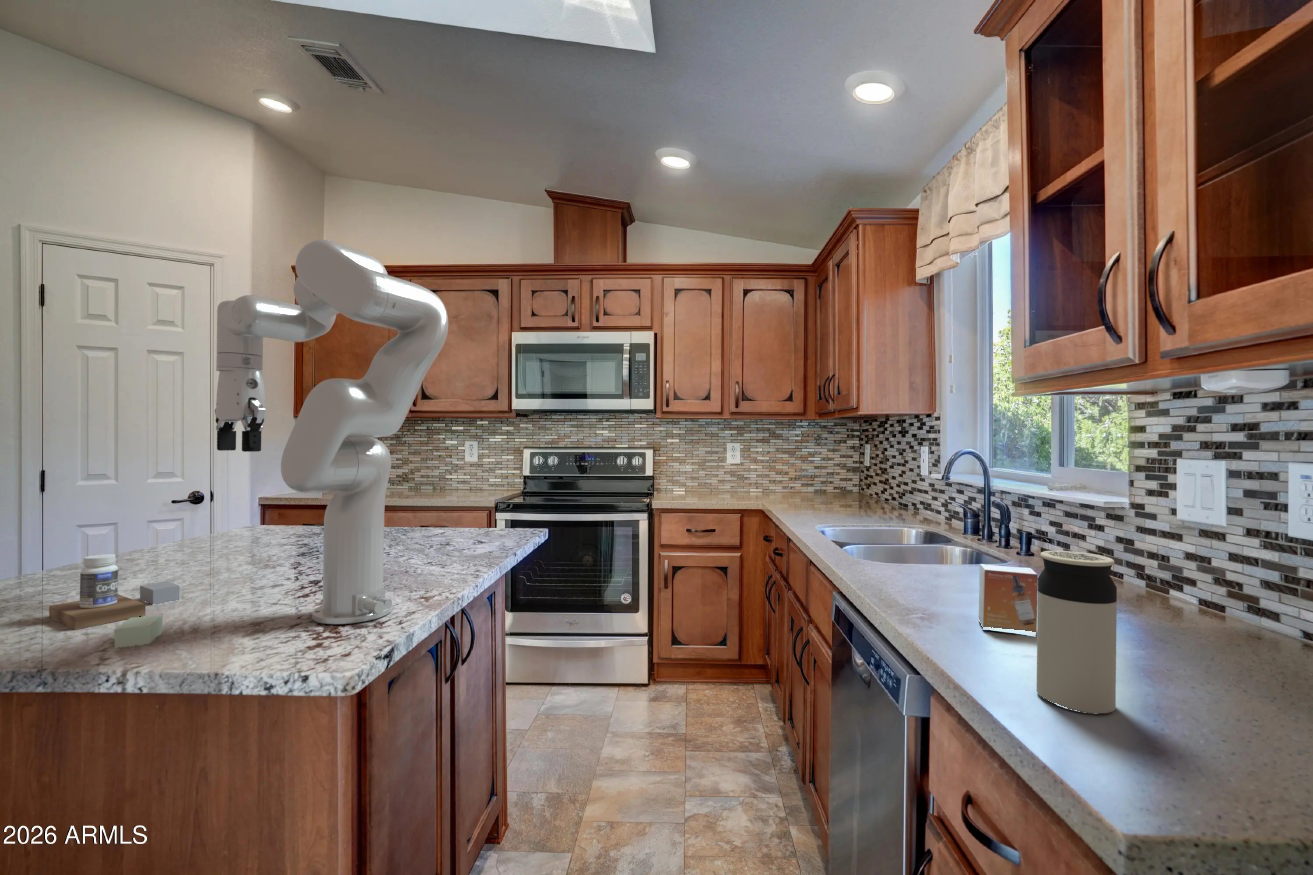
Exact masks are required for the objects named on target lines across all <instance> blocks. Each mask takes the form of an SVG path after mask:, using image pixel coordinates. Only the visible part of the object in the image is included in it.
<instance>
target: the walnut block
mask: <svg viewBox="0 0 1313 875" xmlns="http://www.w3.org/2000/svg"><path fill="white" fill-rule="evenodd" d="M146 604H147V603H145V602H142V601H138V600H135V599H133V598H130V597H127V596H124V595H121V594H118V593H117V602H116V603H115V604H112V605H109V606H104V607H98V608H81V607H80V600H75V601H70V602H64V603H57V604H52V605H49V607H48V618H49V619H51V620H53V621H55V622H58V623H60V624H62V625H64V626H66V627H68V628H70V629H71V630H81V629H85V628H89V627H90V628H91V627H96V626H100V625H105V623H106V624H110V623H109V622H111V623H116V622H121V621H124V620H125V621H127V620H128V619H129V618H133V617H139V616H141V617H144V616H143V615H145V616H146V607H147V606H146ZM95 625H96V626H95Z"/></svg>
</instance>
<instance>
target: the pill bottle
mask: <svg viewBox="0 0 1313 875" xmlns="http://www.w3.org/2000/svg"><path fill="white" fill-rule="evenodd" d="M116 561H117V560H116V554H114V553H112V554H111V553H110V554H109V553H107V554H96V555H95V554H94V555H88V556H85V557H83V566H84V568H82V569H81V570H80V576H79V577H80V579H79V601H80V607H81V608H98V607H104V606H109V605H112V604H115V603H116V602H117V594H118V592H119V591H118V590H119V588H118V586H119V585H118V584H119V582H118V581H119V567H118V566H117V565H115V564H116Z"/></svg>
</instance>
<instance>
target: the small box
mask: <svg viewBox="0 0 1313 875" xmlns="http://www.w3.org/2000/svg"><path fill="white" fill-rule="evenodd" d="M1038 577H1039V575H1038V573H1036V572H1035V571H1034V570H1033V569H1032V568H1031V567H1021V566H1020V567H1017V566H1005V565H993V564H986V563H979V579H978V580H979V581H978V582H979V585H978V586H979V587H978V588H979V590H978V594H979V595H978V596H979V597H978V618H979V620H980V622H981V624H982V626H983V627H991V628H992V627H993V628H1002V629H1014V630H1025V631H1032V632H1037V608H1038Z"/></svg>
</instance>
